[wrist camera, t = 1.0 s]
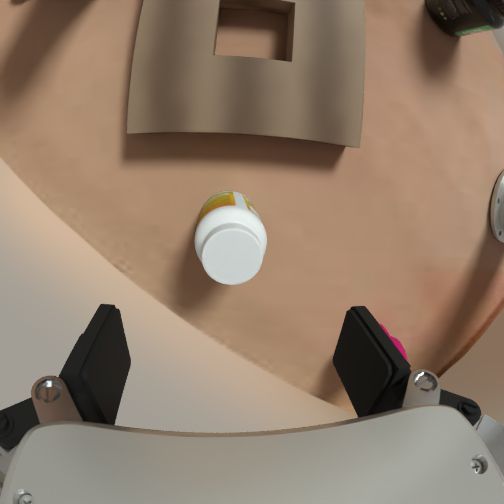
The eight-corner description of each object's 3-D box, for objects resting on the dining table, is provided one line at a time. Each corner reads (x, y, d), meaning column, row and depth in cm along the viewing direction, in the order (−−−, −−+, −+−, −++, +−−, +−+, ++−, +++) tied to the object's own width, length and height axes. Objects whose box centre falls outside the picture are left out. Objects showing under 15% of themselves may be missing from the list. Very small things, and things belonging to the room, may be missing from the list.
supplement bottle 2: (460, 47, 21) (526, 37, 10) (422, 16, 19) (488, -7, 8) (462, 15, 19) (521, 1, 8) (426, -15, 17) (484, -40, 6)
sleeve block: (350, -16, 18) (361, -27, 15) (346, 146, 26) (359, 147, 23) (161, -35, 16) (157, -49, 13) (136, 134, 23) (126, 133, 20)
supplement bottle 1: (193, 235, 27) (180, 282, 19) (210, 182, 26) (204, 206, 17) (245, 250, 29) (256, 303, 20) (264, 200, 27) (286, 233, 18)
